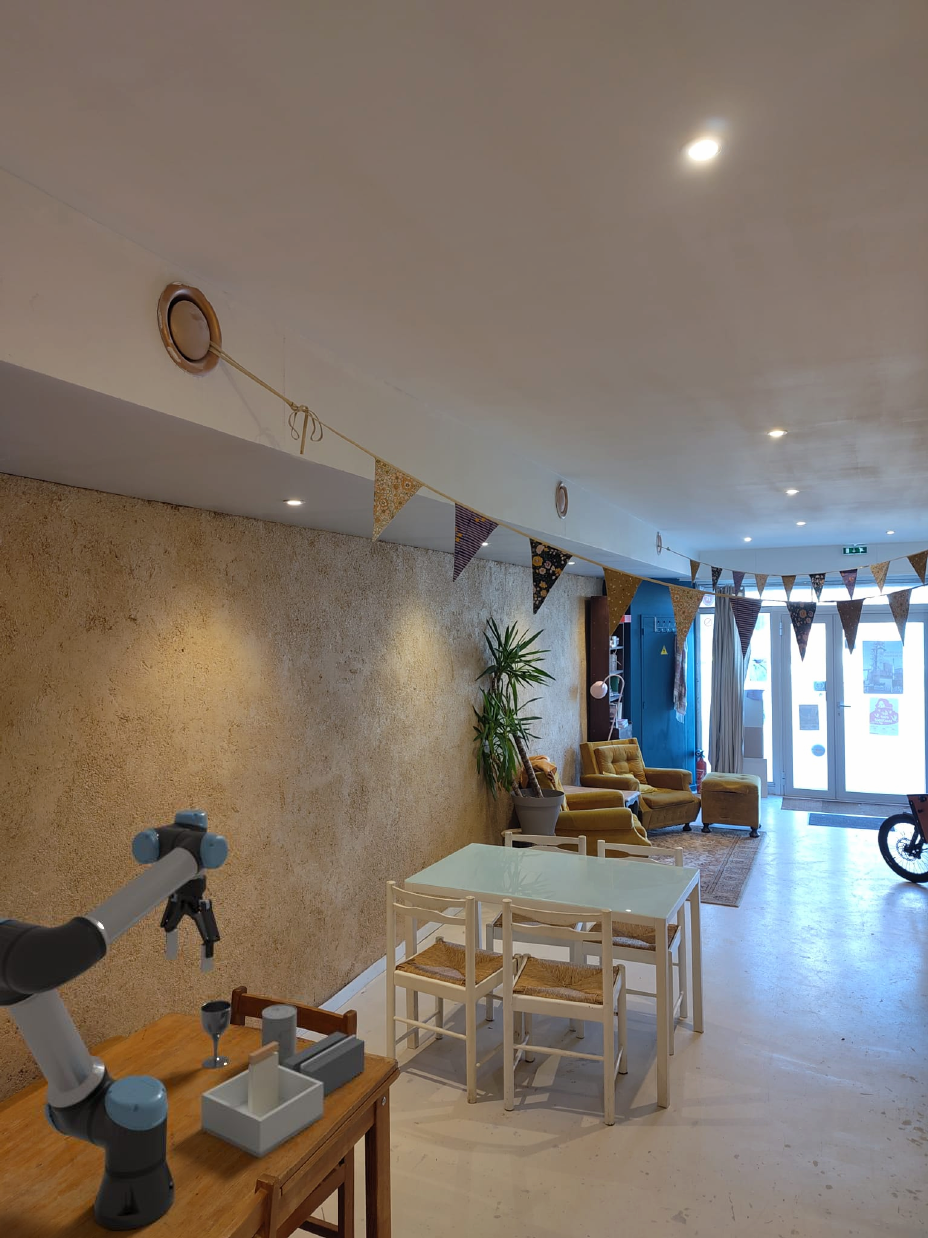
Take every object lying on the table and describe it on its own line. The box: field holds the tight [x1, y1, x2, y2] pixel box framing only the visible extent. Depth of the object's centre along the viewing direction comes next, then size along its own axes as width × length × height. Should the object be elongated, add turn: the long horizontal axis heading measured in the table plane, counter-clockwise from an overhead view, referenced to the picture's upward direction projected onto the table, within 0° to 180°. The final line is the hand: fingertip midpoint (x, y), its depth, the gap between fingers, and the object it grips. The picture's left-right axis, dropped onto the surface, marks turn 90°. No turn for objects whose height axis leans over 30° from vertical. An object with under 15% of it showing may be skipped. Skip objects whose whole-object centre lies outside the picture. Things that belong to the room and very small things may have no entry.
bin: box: [200, 1065, 324, 1159], centre depth 198 cm, size 20×20×8 cm
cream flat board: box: [247, 1041, 279, 1118], centre depth 198 cm, size 8×2×16 cm, turn 146°
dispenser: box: [282, 1031, 365, 1098], centre depth 217 cm, size 20×10×9 cm, turn 146°
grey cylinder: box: [261, 1003, 298, 1066], centre depth 230 cm, size 10×10×12 cm
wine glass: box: [200, 999, 232, 1070], centre depth 227 cm, size 8×8×15 cm
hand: (188, 965), depth 200 cm, fingers open, 13 cm apart
